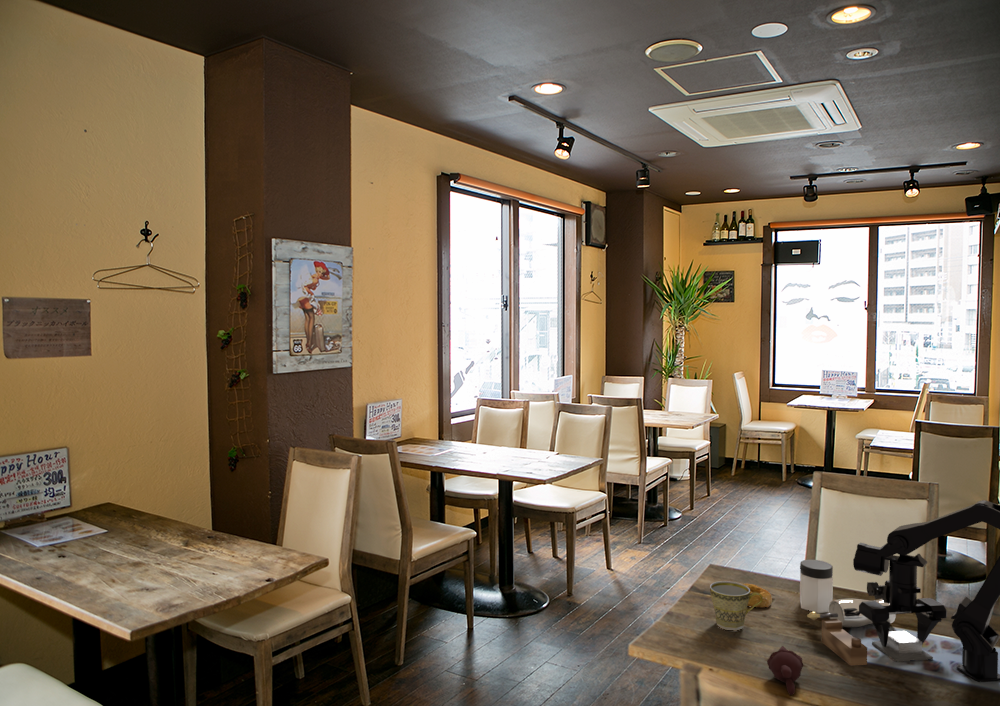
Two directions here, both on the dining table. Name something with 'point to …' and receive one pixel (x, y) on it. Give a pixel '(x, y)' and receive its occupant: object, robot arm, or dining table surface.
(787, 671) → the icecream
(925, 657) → the mat
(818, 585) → the jar
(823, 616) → the lever
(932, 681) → the dining table surface
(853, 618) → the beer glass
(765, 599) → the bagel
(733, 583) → the ceramic cup
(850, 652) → the plane body
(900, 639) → the square block
